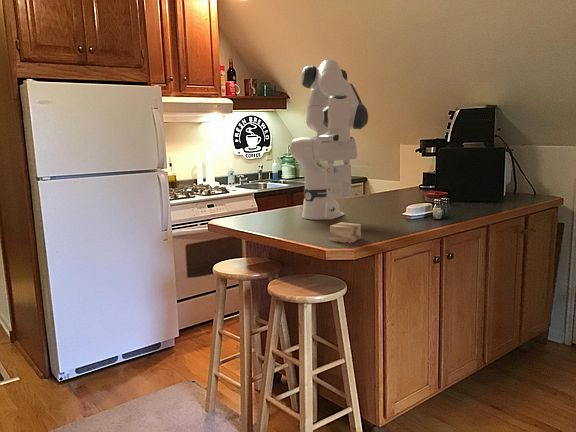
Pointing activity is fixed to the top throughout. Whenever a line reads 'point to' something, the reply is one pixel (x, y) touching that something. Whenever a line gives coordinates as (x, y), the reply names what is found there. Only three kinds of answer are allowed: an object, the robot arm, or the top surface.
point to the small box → (338, 181)
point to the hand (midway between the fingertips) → (338, 171)
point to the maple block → (345, 232)
